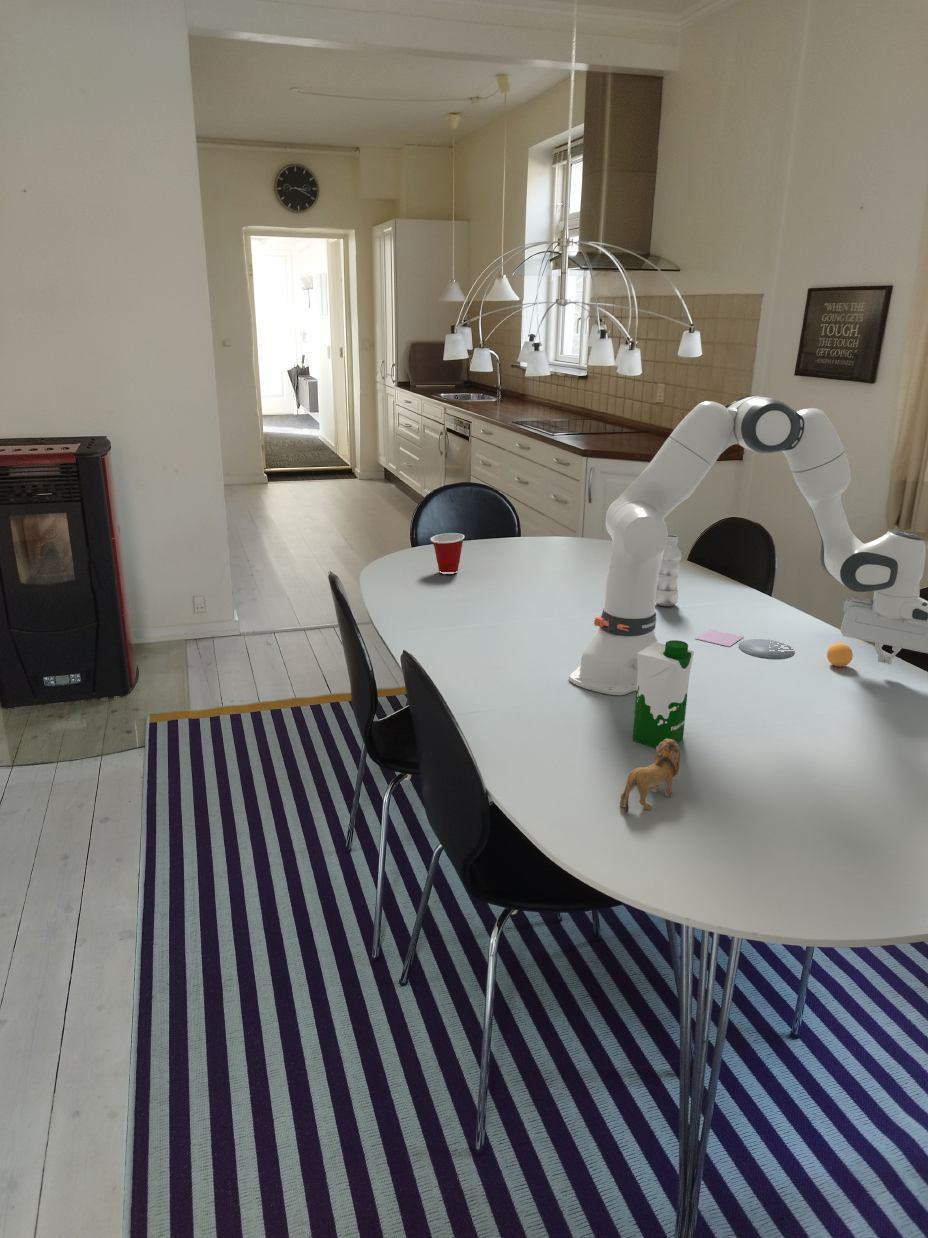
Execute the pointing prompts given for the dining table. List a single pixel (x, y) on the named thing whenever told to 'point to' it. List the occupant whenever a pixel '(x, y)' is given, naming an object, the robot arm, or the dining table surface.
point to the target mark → (764, 648)
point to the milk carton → (661, 692)
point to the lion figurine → (654, 774)
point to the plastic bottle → (668, 574)
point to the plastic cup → (448, 551)
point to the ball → (839, 654)
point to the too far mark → (719, 637)
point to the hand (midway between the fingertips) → (885, 662)
